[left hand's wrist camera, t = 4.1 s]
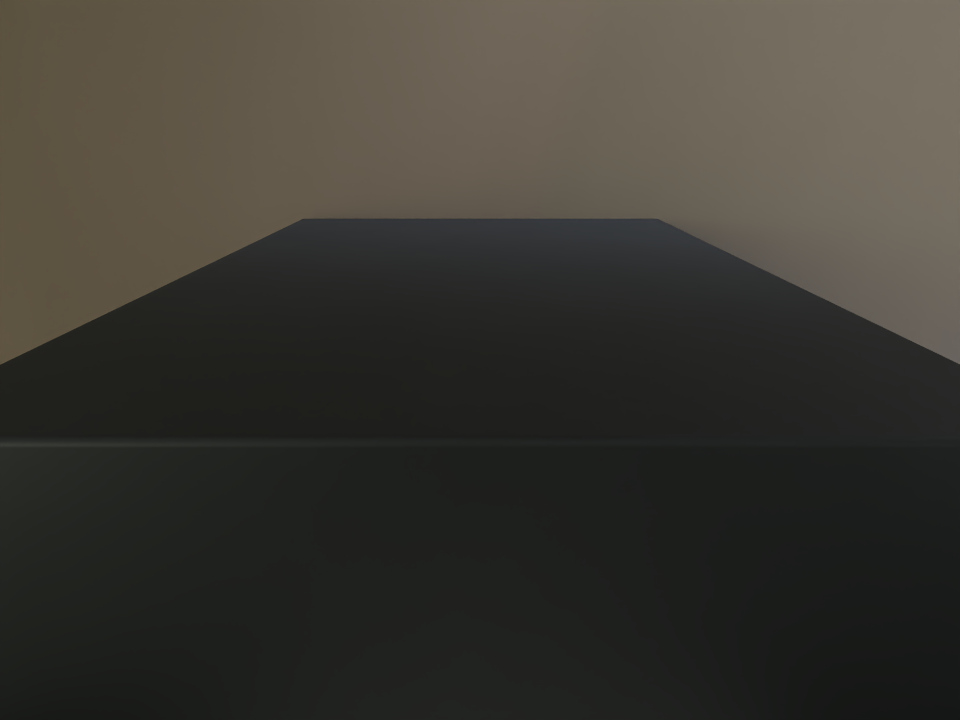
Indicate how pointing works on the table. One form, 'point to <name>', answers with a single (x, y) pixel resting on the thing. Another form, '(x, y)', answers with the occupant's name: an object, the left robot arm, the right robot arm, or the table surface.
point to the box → (480, 489)
